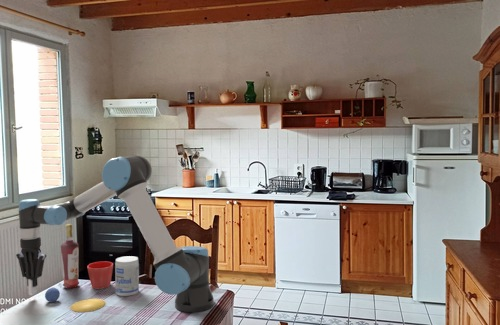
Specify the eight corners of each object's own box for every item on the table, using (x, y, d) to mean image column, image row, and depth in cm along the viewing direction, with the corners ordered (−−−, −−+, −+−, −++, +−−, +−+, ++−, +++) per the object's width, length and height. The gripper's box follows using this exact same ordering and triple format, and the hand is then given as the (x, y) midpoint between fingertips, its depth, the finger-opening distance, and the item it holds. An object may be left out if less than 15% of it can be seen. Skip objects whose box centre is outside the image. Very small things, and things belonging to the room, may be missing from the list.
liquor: (72, 290, 190) (70, 226, 188) (58, 288, 192) (56, 225, 190) (83, 284, 197) (81, 223, 195) (70, 283, 199) (67, 222, 197)
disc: (107, 308, 170) (107, 307, 170) (71, 314, 165) (71, 314, 164) (103, 297, 182) (103, 296, 182) (69, 302, 176) (69, 302, 176)
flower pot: (106, 291, 189) (105, 268, 188) (83, 289, 191) (82, 267, 191) (118, 282, 199) (117, 261, 199) (96, 281, 202) (95, 260, 201)
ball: (60, 302, 176) (59, 289, 176) (45, 305, 174) (44, 291, 174) (59, 298, 181) (59, 285, 181) (45, 300, 179) (44, 287, 178)
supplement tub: (114, 297, 181) (113, 262, 180) (117, 289, 191) (116, 256, 190) (138, 296, 183) (137, 261, 182) (140, 288, 192) (139, 255, 191)
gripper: (50, 236, 180) (52, 292, 182) (24, 234, 184) (26, 289, 185) (37, 240, 173) (39, 298, 175) (10, 238, 176) (12, 295, 178)
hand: (32, 293), depth 180 cm, fingers closed
